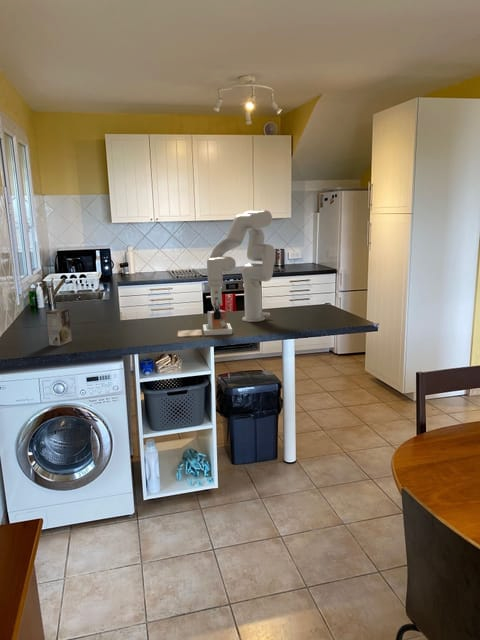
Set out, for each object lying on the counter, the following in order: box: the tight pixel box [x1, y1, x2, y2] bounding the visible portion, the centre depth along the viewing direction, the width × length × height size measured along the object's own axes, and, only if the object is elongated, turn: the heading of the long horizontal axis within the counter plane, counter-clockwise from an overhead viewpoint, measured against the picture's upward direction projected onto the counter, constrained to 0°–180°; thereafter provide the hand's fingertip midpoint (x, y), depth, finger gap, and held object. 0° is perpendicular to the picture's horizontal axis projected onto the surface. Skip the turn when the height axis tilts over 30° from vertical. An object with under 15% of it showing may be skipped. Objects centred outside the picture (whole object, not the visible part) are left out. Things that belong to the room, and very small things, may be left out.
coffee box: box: [45, 308, 73, 347], centre depth 232 cm, size 9×6×16 cm
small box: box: [207, 309, 227, 330], centre depth 246 cm, size 8×6×10 cm
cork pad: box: [177, 329, 203, 338], centre depth 244 cm, size 12×12×1 cm
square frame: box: [202, 322, 233, 336], centre depth 247 cm, size 14×14×2 cm
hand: (216, 317), depth 246 cm, fingers closed on small box, 7 cm apart
